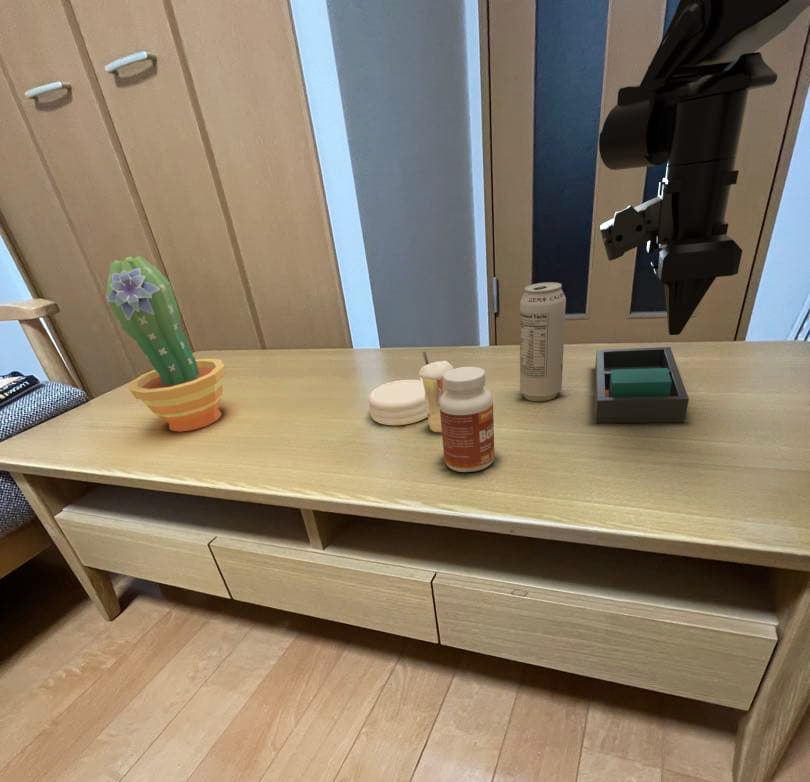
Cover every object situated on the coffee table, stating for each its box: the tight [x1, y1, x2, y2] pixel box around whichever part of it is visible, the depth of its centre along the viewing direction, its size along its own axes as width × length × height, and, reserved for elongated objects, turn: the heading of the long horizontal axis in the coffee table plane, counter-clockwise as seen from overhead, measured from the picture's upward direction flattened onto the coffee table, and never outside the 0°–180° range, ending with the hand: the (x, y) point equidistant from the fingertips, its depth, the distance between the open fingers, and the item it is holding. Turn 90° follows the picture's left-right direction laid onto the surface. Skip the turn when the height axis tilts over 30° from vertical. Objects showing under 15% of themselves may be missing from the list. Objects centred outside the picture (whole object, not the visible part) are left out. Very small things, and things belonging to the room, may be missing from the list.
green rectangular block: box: [609, 368, 672, 397], centre depth 69 cm, size 7×5×4 cm
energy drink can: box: [519, 281, 567, 402], centre depth 73 cm, size 6×6×15 cm
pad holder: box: [594, 346, 690, 424], centre depth 73 cm, size 20×10×3 cm, turn 164°
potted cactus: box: [105, 254, 226, 432], centre depth 81 cm, size 15×15×25 cm
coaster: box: [367, 379, 428, 426], centre depth 78 cm, size 10×10×4 cm
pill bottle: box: [439, 366, 495, 473], centre depth 61 cm, size 6×6×11 cm
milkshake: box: [418, 351, 455, 434], centre depth 70 cm, size 4×5×10 cm
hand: (674, 334), depth 57 cm, fingers closed
